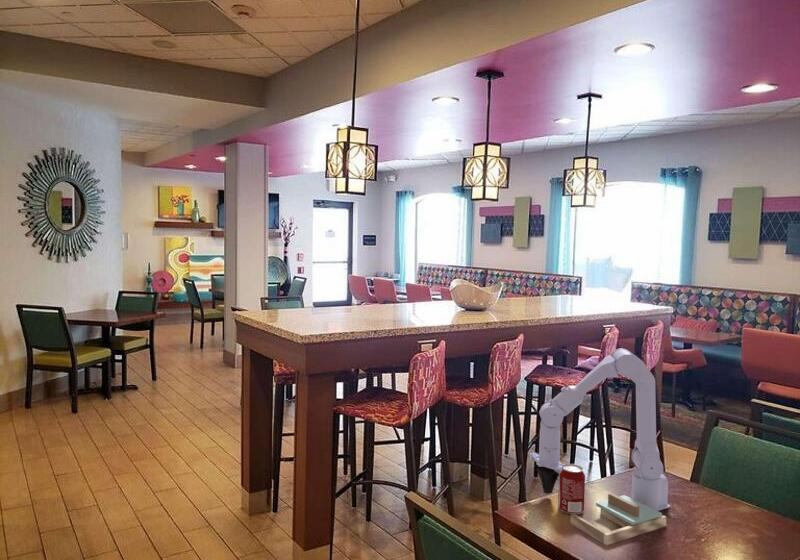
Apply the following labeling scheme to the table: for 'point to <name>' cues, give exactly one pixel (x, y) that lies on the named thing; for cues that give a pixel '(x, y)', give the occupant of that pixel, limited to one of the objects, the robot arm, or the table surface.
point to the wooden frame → (620, 533)
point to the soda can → (571, 489)
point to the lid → (628, 509)
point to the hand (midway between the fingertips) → (547, 492)
